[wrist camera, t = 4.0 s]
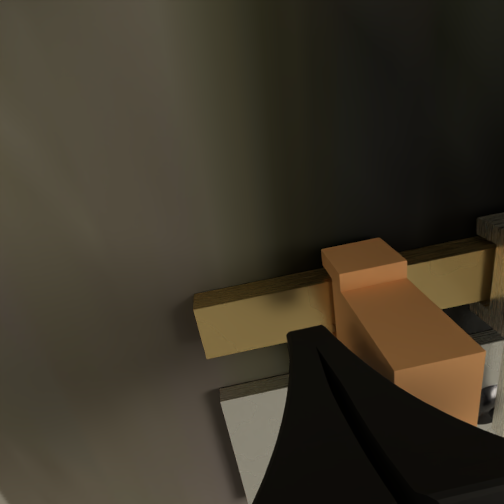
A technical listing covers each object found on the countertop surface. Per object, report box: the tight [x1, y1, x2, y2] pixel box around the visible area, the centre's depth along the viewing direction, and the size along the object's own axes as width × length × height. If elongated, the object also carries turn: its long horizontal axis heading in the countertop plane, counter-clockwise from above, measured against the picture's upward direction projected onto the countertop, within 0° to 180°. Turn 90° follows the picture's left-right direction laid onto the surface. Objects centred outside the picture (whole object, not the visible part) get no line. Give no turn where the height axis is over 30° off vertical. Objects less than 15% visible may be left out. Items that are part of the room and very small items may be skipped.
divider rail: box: [193, 212, 504, 437], centre depth 14 cm, size 14×11×6 cm
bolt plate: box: [220, 330, 504, 504], centre depth 19 cm, size 14×8×1 cm, turn 100°
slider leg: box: [321, 237, 486, 427], centre depth 14 cm, size 2×11×6 cm, turn 10°
